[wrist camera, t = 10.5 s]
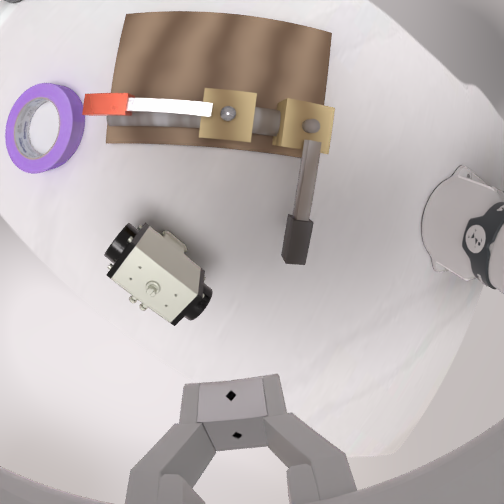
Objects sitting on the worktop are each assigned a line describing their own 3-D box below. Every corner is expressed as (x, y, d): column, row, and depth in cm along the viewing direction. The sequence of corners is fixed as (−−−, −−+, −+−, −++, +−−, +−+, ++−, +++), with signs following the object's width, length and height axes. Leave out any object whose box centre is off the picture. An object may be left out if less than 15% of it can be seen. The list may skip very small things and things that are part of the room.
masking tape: (81, 169, 32) (68, 174, 29) (18, 169, 30) (3, 174, 27) (91, 82, 28) (78, 78, 24) (25, 90, 26) (10, 89, 23)
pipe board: (326, 37, 29) (360, 11, 19) (298, 233, 39) (323, 266, 29) (130, 19, 25) (104, -12, 16) (109, 219, 35) (78, 248, 26)
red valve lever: (96, 96, 23) (85, 94, 20) (236, 105, 25) (238, 101, 22) (93, 116, 23) (82, 114, 21) (233, 125, 26) (235, 123, 23)
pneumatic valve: (145, 204, 35) (115, 236, 24) (214, 261, 39) (213, 312, 28) (121, 235, 36) (87, 277, 25) (188, 288, 40) (179, 344, 29)
